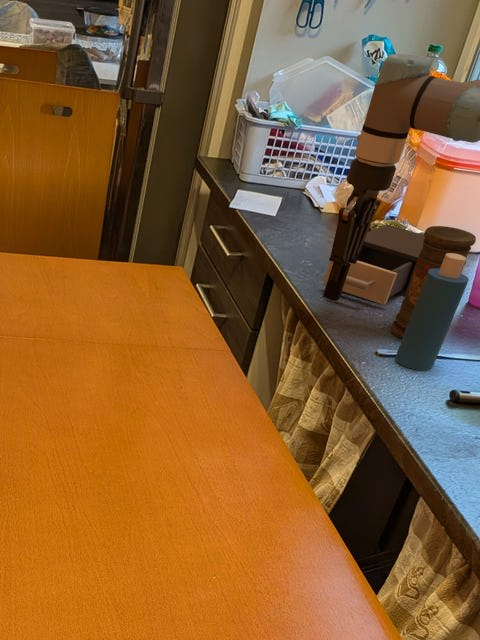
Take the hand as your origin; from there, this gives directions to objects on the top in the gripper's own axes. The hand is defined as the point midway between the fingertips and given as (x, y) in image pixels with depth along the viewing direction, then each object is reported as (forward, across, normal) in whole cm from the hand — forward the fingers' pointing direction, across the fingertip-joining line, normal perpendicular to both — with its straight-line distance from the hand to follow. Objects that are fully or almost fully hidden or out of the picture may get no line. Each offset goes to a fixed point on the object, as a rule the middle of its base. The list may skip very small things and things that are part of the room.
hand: (330, 297), depth 174 cm
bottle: (+3, +9, +21) cm, 23 cm away
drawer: (+2, -17, 0) cm, 17 cm away
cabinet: (+3, -31, 0) cm, 31 cm away
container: (+3, -4, +16) cm, 17 cm away
